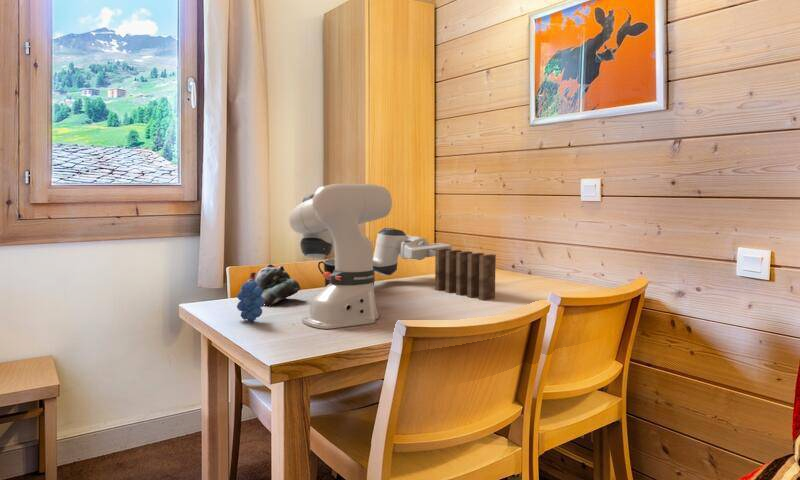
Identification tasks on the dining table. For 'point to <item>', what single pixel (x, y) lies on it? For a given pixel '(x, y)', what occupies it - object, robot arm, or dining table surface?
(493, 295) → the domino
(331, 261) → the coffee mug
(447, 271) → the domino
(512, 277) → the dining table surface
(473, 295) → the domino
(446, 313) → the dining table surface
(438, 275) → the domino
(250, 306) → the grapes
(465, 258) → the domino
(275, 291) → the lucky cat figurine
